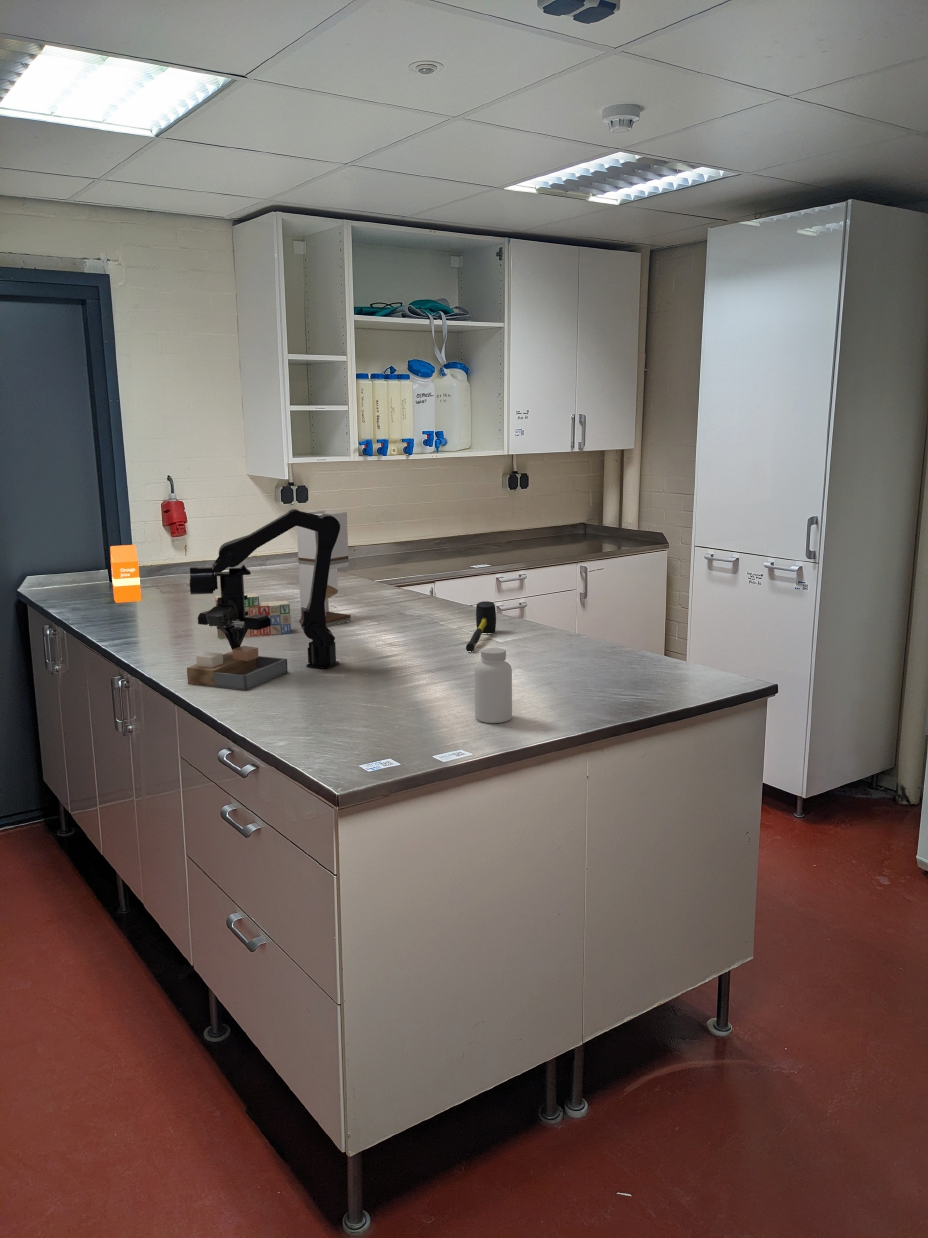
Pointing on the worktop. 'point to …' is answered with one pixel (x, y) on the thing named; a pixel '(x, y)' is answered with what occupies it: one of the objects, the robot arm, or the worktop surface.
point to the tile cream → (209, 659)
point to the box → (253, 674)
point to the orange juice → (125, 573)
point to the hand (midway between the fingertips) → (235, 652)
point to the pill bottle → (493, 687)
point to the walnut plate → (218, 670)
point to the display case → (337, 561)
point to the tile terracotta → (245, 653)
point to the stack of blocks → (274, 610)
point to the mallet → (483, 622)
